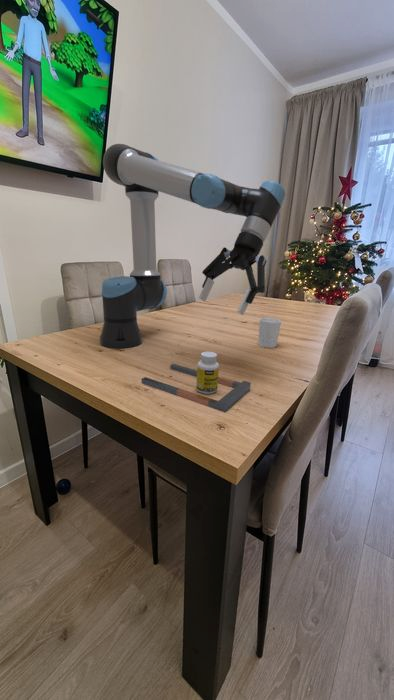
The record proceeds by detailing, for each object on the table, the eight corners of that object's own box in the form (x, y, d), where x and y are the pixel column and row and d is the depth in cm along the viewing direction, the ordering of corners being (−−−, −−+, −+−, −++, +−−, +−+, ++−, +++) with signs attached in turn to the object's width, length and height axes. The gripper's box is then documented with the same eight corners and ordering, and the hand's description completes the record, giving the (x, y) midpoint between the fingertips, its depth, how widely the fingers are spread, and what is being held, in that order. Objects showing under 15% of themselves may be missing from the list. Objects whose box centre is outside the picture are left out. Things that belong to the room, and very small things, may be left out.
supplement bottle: (202, 396, 75) (204, 358, 72) (192, 387, 80) (194, 351, 76) (221, 392, 78) (223, 356, 74) (210, 383, 82) (212, 349, 79)
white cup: (276, 343, 120) (279, 318, 117) (279, 349, 113) (282, 323, 110) (256, 341, 121) (258, 317, 118) (257, 348, 113) (260, 321, 110)
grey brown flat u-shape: (141, 382, 81) (141, 376, 80) (173, 367, 92) (173, 361, 91) (225, 411, 68) (225, 403, 68) (250, 389, 80) (250, 382, 79)
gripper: (296, 252, 82) (263, 323, 83) (222, 237, 96) (194, 299, 96) (289, 237, 76) (253, 314, 76) (211, 224, 90) (181, 290, 90)
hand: (220, 306), depth 86 cm, fingers open, 13 cm apart
